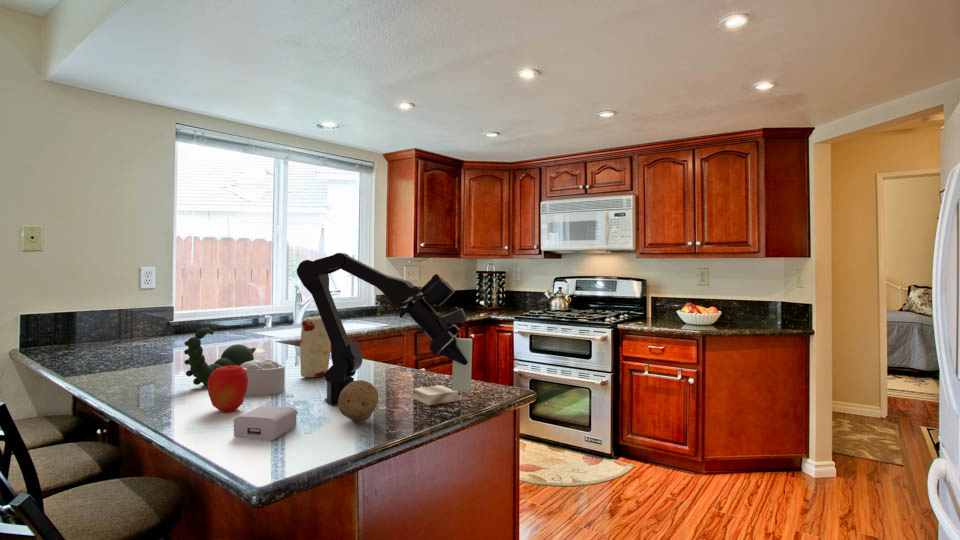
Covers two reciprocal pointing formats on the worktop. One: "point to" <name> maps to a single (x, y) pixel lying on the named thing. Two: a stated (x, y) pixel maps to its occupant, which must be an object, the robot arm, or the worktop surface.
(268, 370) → the lumpy-topped squat cylinder
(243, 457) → the worktop surface
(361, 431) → the worktop surface
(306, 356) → the food model
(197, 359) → the toy figurine
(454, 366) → the green pillar
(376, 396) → the natural sponge
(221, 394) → the apple
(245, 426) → the charger
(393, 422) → the worktop surface
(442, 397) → the birch block
